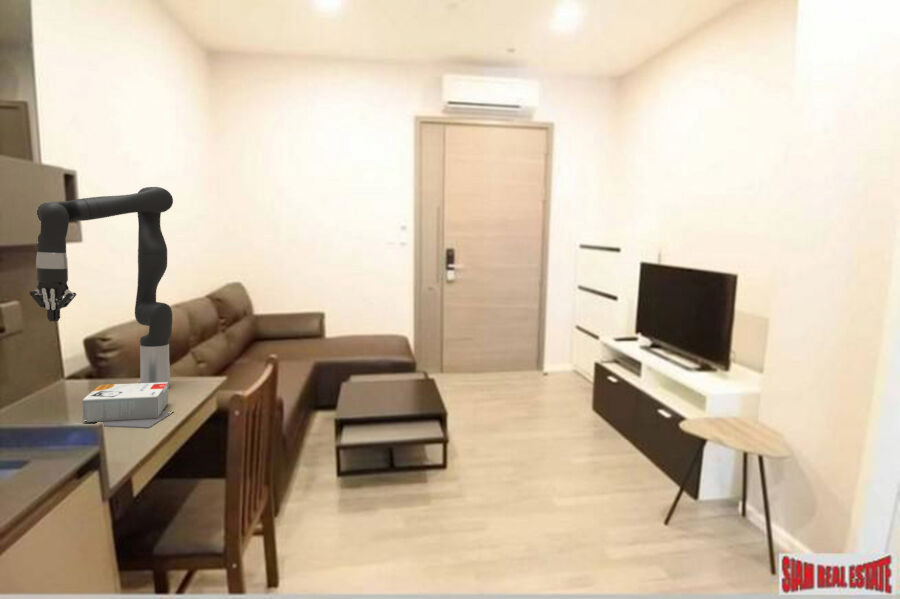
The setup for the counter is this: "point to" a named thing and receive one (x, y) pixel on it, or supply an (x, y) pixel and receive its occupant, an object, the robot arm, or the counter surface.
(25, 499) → the counter surface
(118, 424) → the rubber mat
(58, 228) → the robot arm
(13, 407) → the counter surface
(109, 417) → the hard drive box
